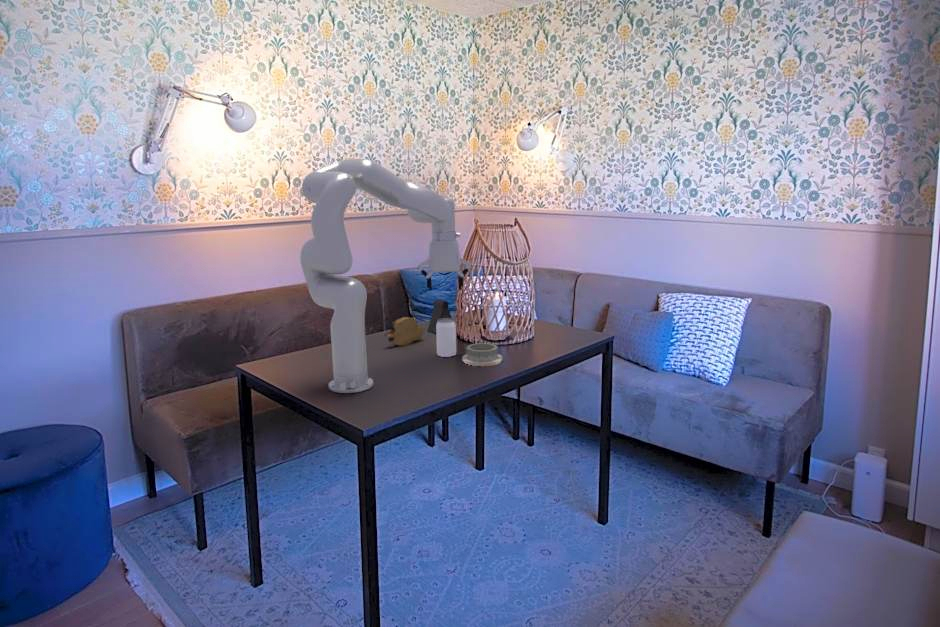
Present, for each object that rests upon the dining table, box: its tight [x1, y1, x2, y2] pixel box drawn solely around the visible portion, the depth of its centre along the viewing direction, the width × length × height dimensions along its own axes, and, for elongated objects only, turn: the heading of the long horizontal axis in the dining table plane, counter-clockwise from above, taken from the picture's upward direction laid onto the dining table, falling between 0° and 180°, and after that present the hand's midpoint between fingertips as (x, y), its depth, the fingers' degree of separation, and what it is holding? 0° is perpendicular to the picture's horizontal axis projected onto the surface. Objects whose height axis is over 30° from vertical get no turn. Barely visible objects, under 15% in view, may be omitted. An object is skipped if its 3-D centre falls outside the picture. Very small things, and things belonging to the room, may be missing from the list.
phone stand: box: [427, 299, 453, 334], centre depth 243 cm, size 9×6×12 cm, turn 126°
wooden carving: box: [384, 316, 425, 347], centre depth 225 cm, size 16×5×10 cm, turn 139°
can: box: [435, 317, 457, 358], centre depth 211 cm, size 6×6×12 cm
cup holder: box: [461, 342, 503, 368], centre depth 205 cm, size 13×13×4 cm
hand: (445, 289), depth 207 cm, fingers open, 9 cm apart
